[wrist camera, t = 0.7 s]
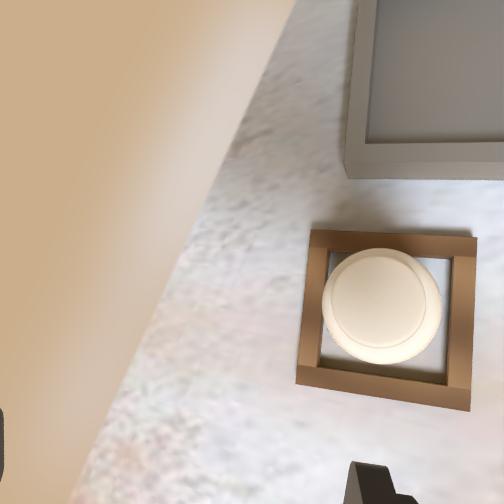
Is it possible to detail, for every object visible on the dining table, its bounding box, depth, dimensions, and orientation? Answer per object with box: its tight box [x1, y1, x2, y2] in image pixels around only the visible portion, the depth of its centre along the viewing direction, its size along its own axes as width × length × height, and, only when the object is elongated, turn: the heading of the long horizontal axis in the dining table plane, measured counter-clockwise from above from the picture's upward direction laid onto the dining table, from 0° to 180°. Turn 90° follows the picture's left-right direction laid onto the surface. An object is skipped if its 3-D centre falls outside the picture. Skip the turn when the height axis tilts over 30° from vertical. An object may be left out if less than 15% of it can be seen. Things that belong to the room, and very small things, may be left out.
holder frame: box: [295, 229, 477, 412], centre depth 28 cm, size 10×10×1 cm
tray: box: [344, 0, 504, 180], centre depth 29 cm, size 14×14×3 cm
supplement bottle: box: [322, 248, 442, 364], centre depth 24 cm, size 6×6×10 cm
